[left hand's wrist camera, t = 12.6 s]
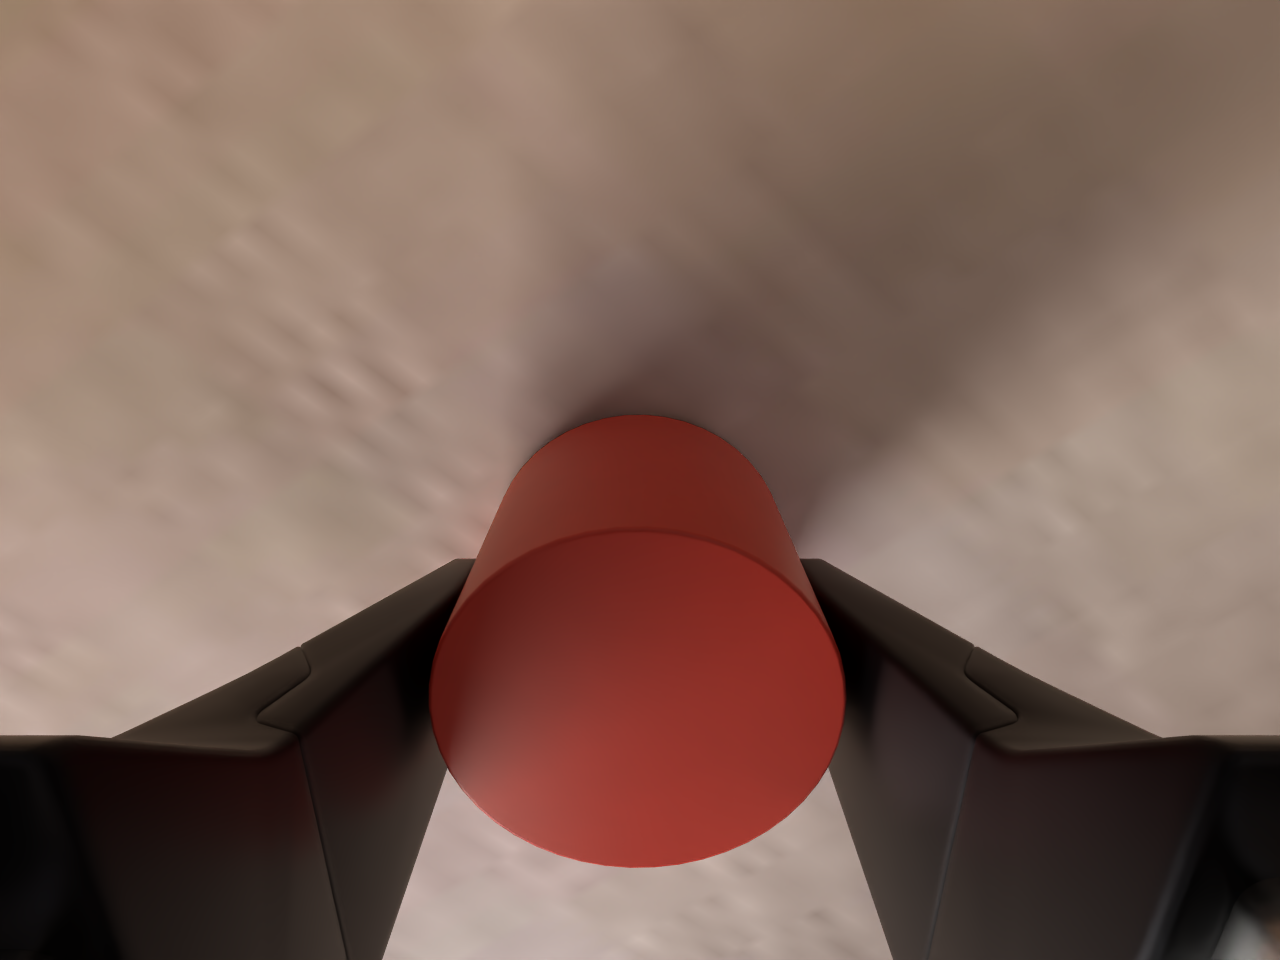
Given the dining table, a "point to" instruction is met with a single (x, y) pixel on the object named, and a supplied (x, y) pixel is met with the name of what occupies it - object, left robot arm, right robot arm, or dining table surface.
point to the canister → (637, 653)
